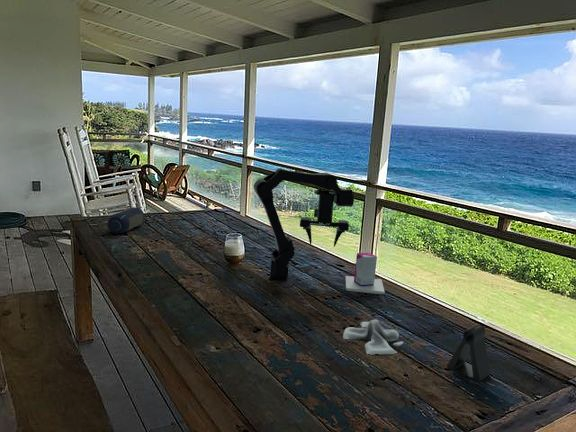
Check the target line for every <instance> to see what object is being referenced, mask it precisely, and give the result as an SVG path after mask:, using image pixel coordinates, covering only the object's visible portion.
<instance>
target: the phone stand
mask: <svg viewBox="0 0 576 432" xmlns="http://www.w3.org/2000/svg"><path fill="white" fill-rule="evenodd" d="M479 326H480V327H479ZM485 334H486V328H485V327H484V326H483V325H479V324H475V325H473V326H472V327H469V328H468V329H466V330H465V331H464V332H463V334H462V340H461V342H460V344H459V345H458V346H457V349H455V352H454V354H453V355H452V357H451V359H450V360H449V361H448V363H447V365H446V368H447V369H449V370H452V371H454V372H456V373H458V374H461V375H463V376H464V375H465V377H467V378H469V379H470V380H471V379H472V380H474V381H475V382H477V381H478V382H477V383H480V382H481V381H483V380H485V379H486V378H487V377H488V376H490V375H491V373H492V372H491V368H490V362H489V355H488V352H487V347H486V341H485ZM469 353H470V359H471V363H470V364H469V363H468V362H466V359H467V356H468V355H469Z"/></svg>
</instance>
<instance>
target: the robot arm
mask: <svg viewBox="0 0 576 432" xmlns="http://www.w3.org/2000/svg"><path fill="white" fill-rule="evenodd" d="M283 181H288V182H297V183H302V184H303V183H304V184H310V185H314V186H316V187H318V188H317V189H316V190H314V191H313V193H314V194H315V195H318V206H317V208H314V209H313V210H314V212H313V214H314V215H313V218H316V220H314V219H313V220H311V217H305V216H304V217H300V220H299V227H300V228H302V229H303V230H304V231H305V233H306V235H307V236H308V241H309V244H310V245H311V246H312V226H318V227H327V228H328V227H329V228H336V233H335V236H334V240H333V247H336V245H337V243H338V241H339V238H340V237H341V235H342V234H343V233H345V232H347V231H349V229H350V224H349V221H348V220H340V219H339V220H338V222H335V221H333V213H334V205H336V207H341V208H343V207H348V208H349V207H352V208H353V206H354V204H355V203H354V202H355V199H354V198H355V197H354V194H353V189H351V188H346V189H345V188H344V189H342V188H340V186H339V184H338V179H337V177H336V175H334V174H331V173H330V172H329V173H328V172H317V173H309V172H303V171H297V170H290V169H284V168H282V167H281V168H280V167H279V168H277V169H275V170H274V171H273V172H271V173H270V174H268V175H266V176H265V177H264V178H262V179H261V178H260V179H257V180H255V182H254V184H253V190H254V192H255V194H256V196H257V197H258V199H259V201H260V202H261V203H262V205H263V209H264V211H265V214H266V216H267V219H268V222H269V224H270V227H271V230H272V232H273V233H272V234H273V235H274V244H275V249H274V250H273V251H272V252H271V253H270V258H271V262H270V272H269V273H270V276H269V280H275V281H276V280H277V281H287V279H288V278H289V270H290V266H289V263H290V261H291V260H292V259H293V258H294V256H295V251H296V248H295V247H294V244H293V240H292V238H291V237H290V236H289V235H288V236H286V235H285V231H284V228H283V226H282V223H281V220H280V217H279V214H278V212H277V209H276V205H275V202H274V192H273V190H274V189H276V188H277V187H278V186H279V185H280V184H281V183H282V182H283ZM321 188H322V189H321ZM330 191H332V192H330Z"/></svg>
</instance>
